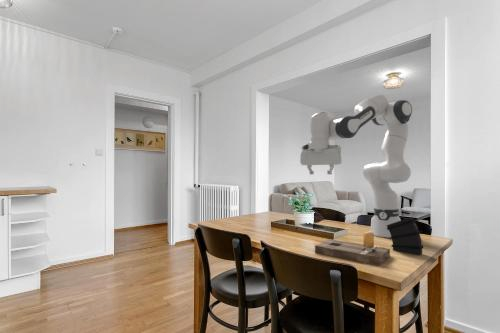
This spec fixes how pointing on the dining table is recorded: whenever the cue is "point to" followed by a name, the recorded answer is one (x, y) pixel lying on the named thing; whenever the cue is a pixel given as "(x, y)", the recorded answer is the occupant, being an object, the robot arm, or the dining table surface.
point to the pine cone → (318, 217)
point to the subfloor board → (353, 251)
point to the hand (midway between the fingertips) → (320, 174)
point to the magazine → (406, 236)
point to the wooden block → (368, 240)
